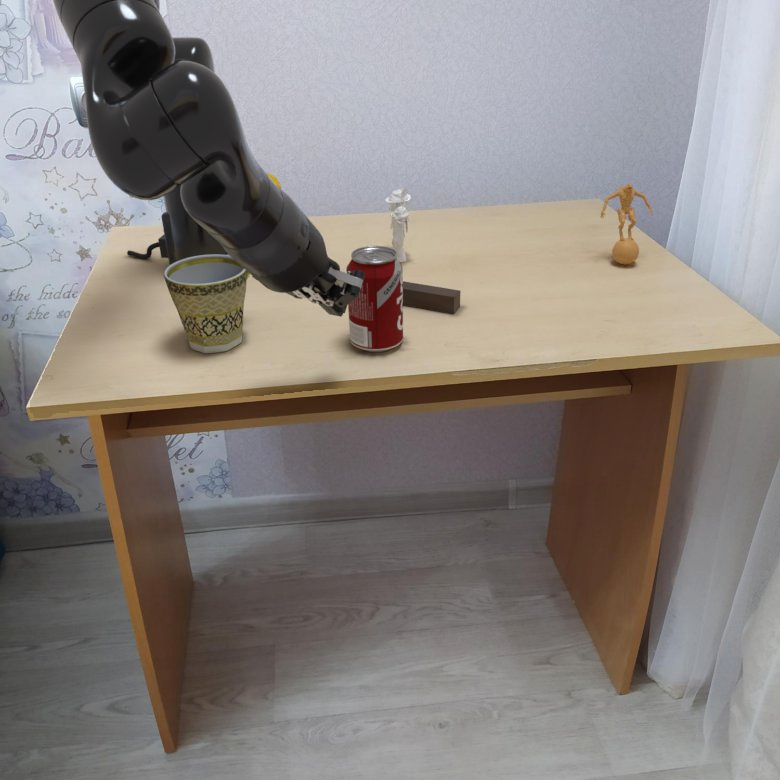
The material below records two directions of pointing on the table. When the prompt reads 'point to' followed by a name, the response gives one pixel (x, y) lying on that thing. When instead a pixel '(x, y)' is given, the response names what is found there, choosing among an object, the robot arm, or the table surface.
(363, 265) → the soda can
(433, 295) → the rail
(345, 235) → the table surface
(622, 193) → the figurine
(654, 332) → the table surface
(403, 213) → the hat wearing toy figure
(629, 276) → the table surface
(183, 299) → the ceramic cup
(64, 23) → the robot arm
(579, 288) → the table surface
